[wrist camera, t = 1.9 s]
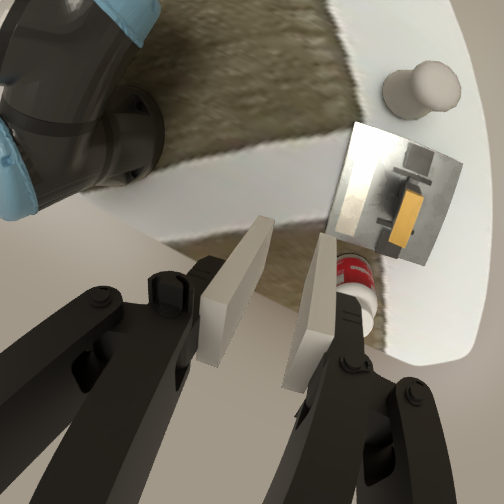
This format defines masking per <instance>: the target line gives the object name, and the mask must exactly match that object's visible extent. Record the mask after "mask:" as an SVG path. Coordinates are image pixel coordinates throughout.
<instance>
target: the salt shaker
mask: <svg viewBox="0 0 504 504" xmlns="http://www.w3.org/2000/svg"><path fill="white" fill-rule="evenodd" d="M383 97H384V100H385V103H386V105H387V107H388V108H389V109H390V110H391V111H392V112H393V113H394V114H395V115H397V116H399V117H401V118H403V119H405V120H417V119H419V118H421V117H423V116H425V115H427V114H428V113H429V112H431V111H438V112H446V111H448V110H450V109H452V108H454V107H456V105H457V104H458V102H459V100H460V98H461V86H460V83H459V80H458V78H457V76H456V75H455V73H454V72H453V71H452V70H451V68H450V67H448V66H446V65H445V64H443V63H441V62H438V61H425V62H423V63H421V64H419V65H417V66H416V67H415V69H414V70H397V71H395V72H394V73H392V74H390V75H389V76H388V77H387V79H386V80H385V82H384V83H383Z"/></svg>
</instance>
